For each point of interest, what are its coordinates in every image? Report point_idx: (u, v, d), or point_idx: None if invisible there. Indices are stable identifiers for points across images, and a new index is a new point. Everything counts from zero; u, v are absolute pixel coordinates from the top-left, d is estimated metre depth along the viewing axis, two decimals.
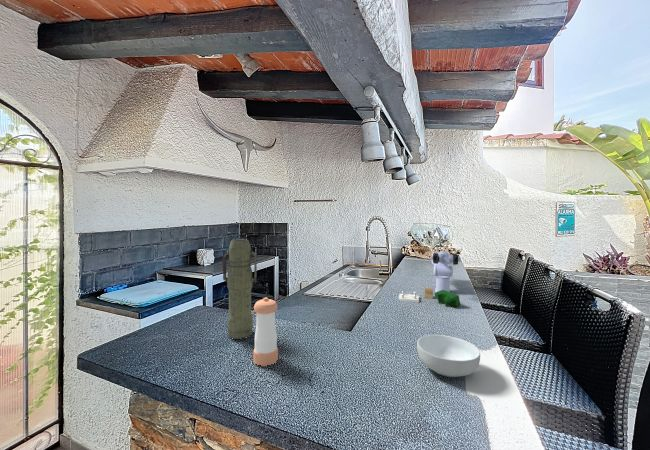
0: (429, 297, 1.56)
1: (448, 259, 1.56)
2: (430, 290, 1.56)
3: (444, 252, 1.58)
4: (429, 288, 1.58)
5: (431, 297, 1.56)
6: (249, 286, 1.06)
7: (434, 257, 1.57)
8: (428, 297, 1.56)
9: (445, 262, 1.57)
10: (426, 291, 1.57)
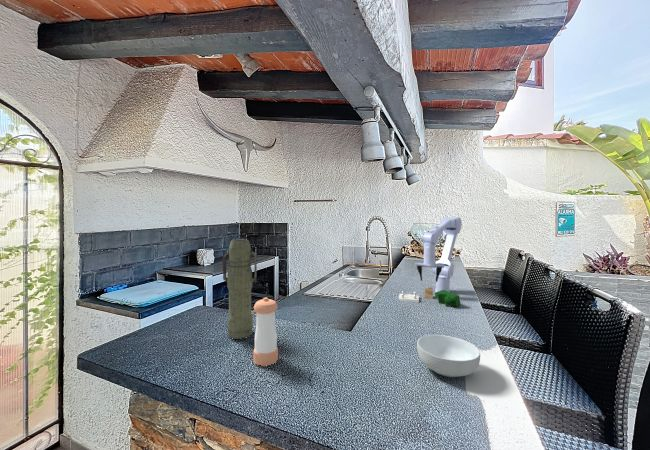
0: (429, 297, 1.56)
1: (432, 267, 1.58)
2: (430, 290, 1.56)
3: (428, 265, 1.55)
4: (429, 288, 1.58)
5: (431, 297, 1.56)
6: (249, 286, 1.06)
7: None
8: (428, 297, 1.56)
9: None
10: (426, 291, 1.57)
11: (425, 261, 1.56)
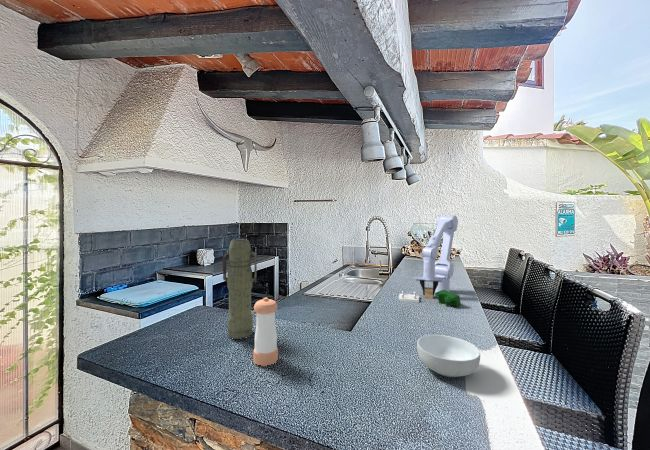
0: (429, 297, 1.56)
1: (431, 281, 1.58)
2: (430, 290, 1.56)
3: (428, 280, 1.55)
4: (429, 288, 1.58)
5: (431, 297, 1.56)
6: (249, 286, 1.06)
7: None
8: (428, 297, 1.56)
9: None
10: (426, 291, 1.57)
11: (425, 275, 1.57)
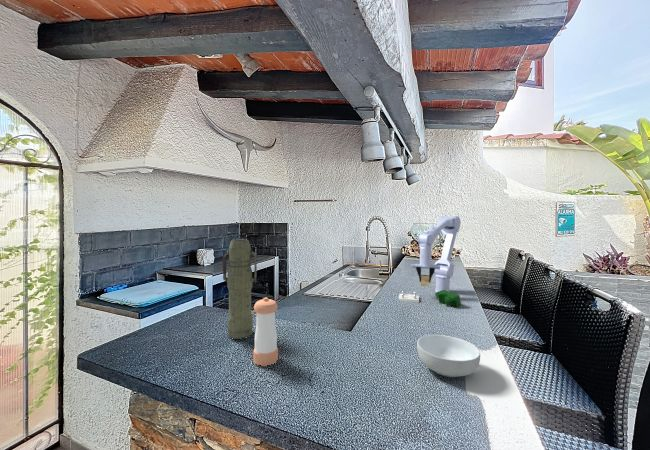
0: (425, 284, 1.55)
1: (428, 268, 1.57)
2: (426, 277, 1.55)
3: (424, 267, 1.54)
4: (425, 275, 1.57)
5: (427, 284, 1.55)
6: (249, 286, 1.06)
7: None
8: (424, 284, 1.55)
9: None
10: (422, 278, 1.56)
11: (421, 262, 1.56)
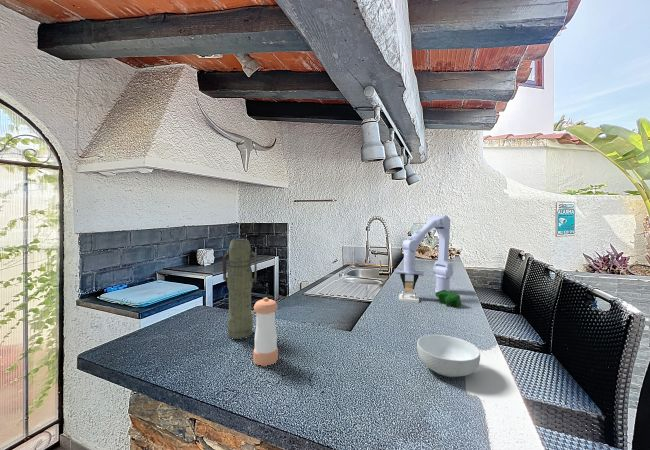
0: (409, 291, 1.53)
1: (412, 274, 1.55)
2: (410, 284, 1.53)
3: (408, 273, 1.52)
4: (409, 282, 1.55)
5: (411, 291, 1.53)
6: (249, 286, 1.06)
7: None
8: (408, 291, 1.53)
9: None
10: (406, 285, 1.54)
11: (405, 268, 1.54)
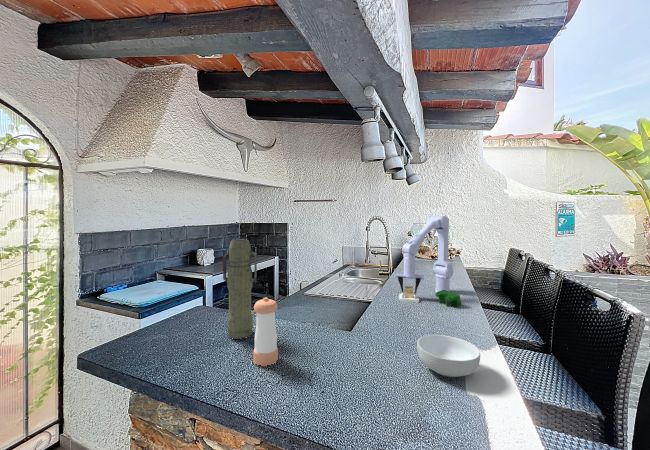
0: (409, 296, 1.53)
1: None
2: (410, 289, 1.53)
3: (408, 277, 1.52)
4: (409, 287, 1.55)
5: (411, 296, 1.53)
6: (249, 286, 1.06)
7: None
8: (408, 296, 1.53)
9: None
10: (406, 290, 1.54)
11: (405, 272, 1.54)
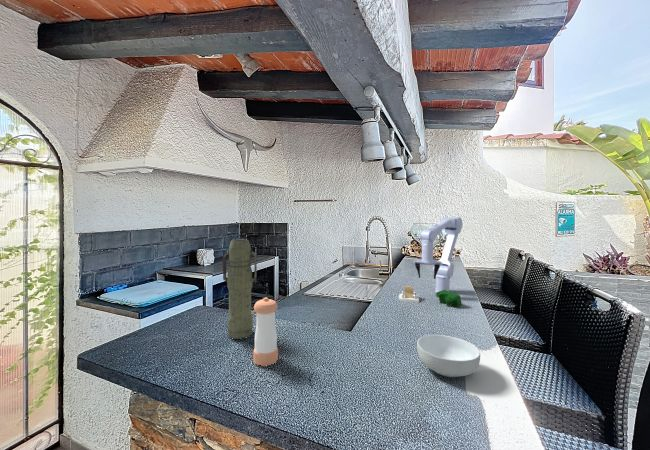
0: (409, 296, 1.53)
1: (430, 264, 1.58)
2: (410, 289, 1.53)
3: (426, 263, 1.55)
4: (409, 287, 1.55)
5: (411, 296, 1.53)
6: (249, 286, 1.06)
7: None
8: (408, 296, 1.53)
9: None
10: (406, 290, 1.54)
11: (423, 258, 1.57)
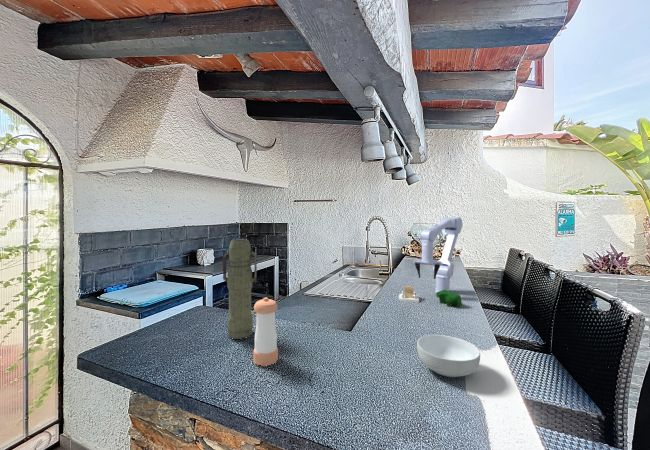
0: (409, 296, 1.53)
1: (430, 264, 1.58)
2: (410, 289, 1.53)
3: (426, 263, 1.55)
4: (409, 287, 1.55)
5: (411, 296, 1.53)
6: (249, 286, 1.06)
7: None
8: (408, 296, 1.53)
9: None
10: (406, 290, 1.54)
11: (423, 258, 1.57)
